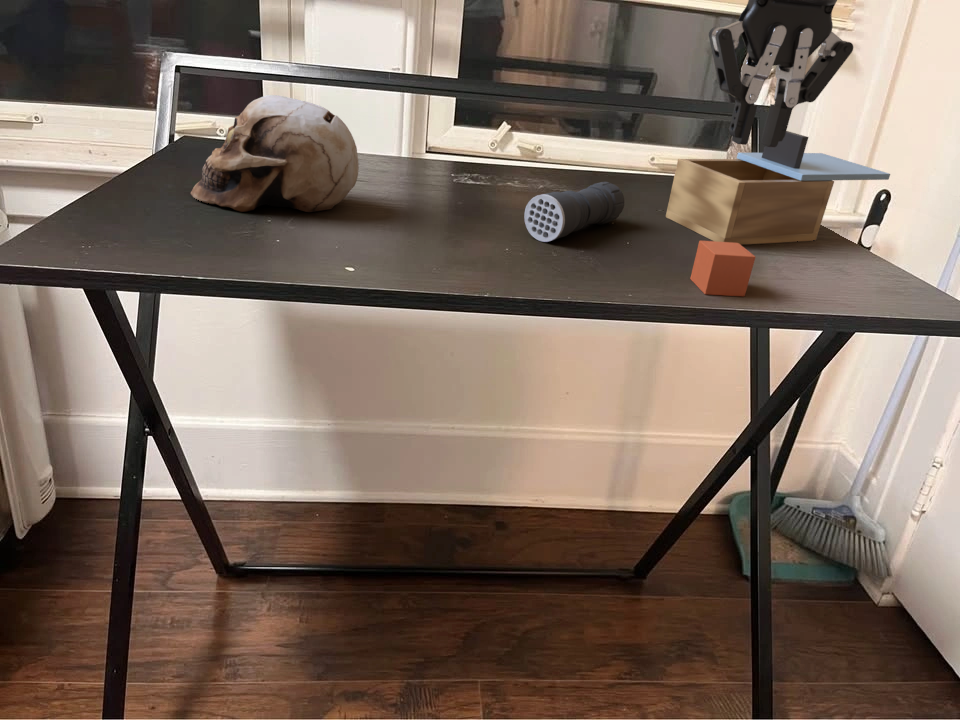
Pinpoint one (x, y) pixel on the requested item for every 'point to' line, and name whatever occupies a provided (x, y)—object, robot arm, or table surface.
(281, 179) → the beige skull model
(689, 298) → the table surface
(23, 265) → the table surface
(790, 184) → the oak box
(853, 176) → the sliding lid
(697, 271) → the block
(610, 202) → the flashlight
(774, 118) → the robot arm
